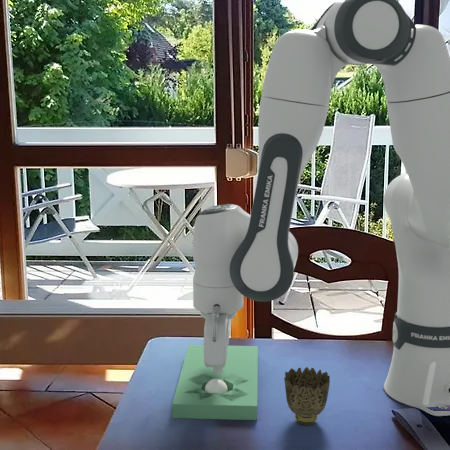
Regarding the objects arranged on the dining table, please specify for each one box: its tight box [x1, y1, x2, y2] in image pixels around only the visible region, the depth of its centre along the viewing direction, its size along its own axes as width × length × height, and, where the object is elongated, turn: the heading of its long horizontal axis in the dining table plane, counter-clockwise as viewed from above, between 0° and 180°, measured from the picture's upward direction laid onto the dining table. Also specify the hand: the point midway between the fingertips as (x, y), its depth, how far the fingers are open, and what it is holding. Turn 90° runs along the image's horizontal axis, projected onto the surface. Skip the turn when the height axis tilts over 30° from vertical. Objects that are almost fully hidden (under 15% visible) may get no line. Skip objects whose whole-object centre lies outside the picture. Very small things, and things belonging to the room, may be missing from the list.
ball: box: [205, 379, 228, 394], centre depth 119 cm, size 4×4×4 cm
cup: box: [283, 366, 331, 426], centre depth 111 cm, size 8×7×8 cm
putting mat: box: [171, 344, 259, 421], centre depth 125 cm, size 14×26×2 cm, turn 177°
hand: (218, 370), depth 122 cm, fingers closed
